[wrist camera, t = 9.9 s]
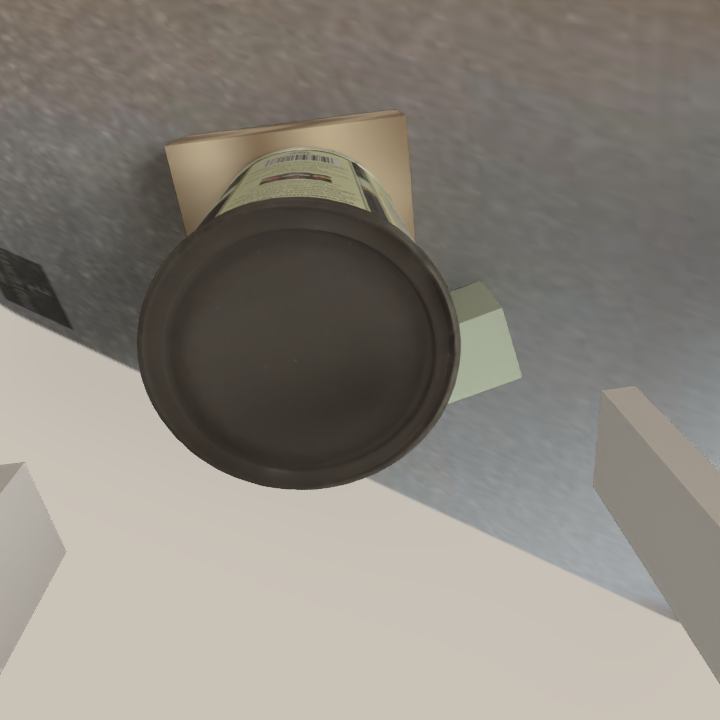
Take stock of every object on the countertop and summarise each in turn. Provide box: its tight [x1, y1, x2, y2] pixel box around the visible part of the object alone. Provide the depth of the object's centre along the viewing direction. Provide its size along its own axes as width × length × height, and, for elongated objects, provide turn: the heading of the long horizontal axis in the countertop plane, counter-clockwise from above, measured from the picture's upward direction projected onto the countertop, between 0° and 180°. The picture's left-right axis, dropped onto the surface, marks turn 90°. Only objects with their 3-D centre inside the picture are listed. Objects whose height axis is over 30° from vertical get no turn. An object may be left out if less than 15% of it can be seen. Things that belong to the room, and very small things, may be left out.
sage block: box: [448, 281, 522, 404], centre depth 37 cm, size 5×5×5 cm
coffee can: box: [137, 147, 461, 490], centre depth 25 cm, size 10×10×14 cm
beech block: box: [164, 109, 415, 241], centre depth 33 cm, size 12×12×5 cm
